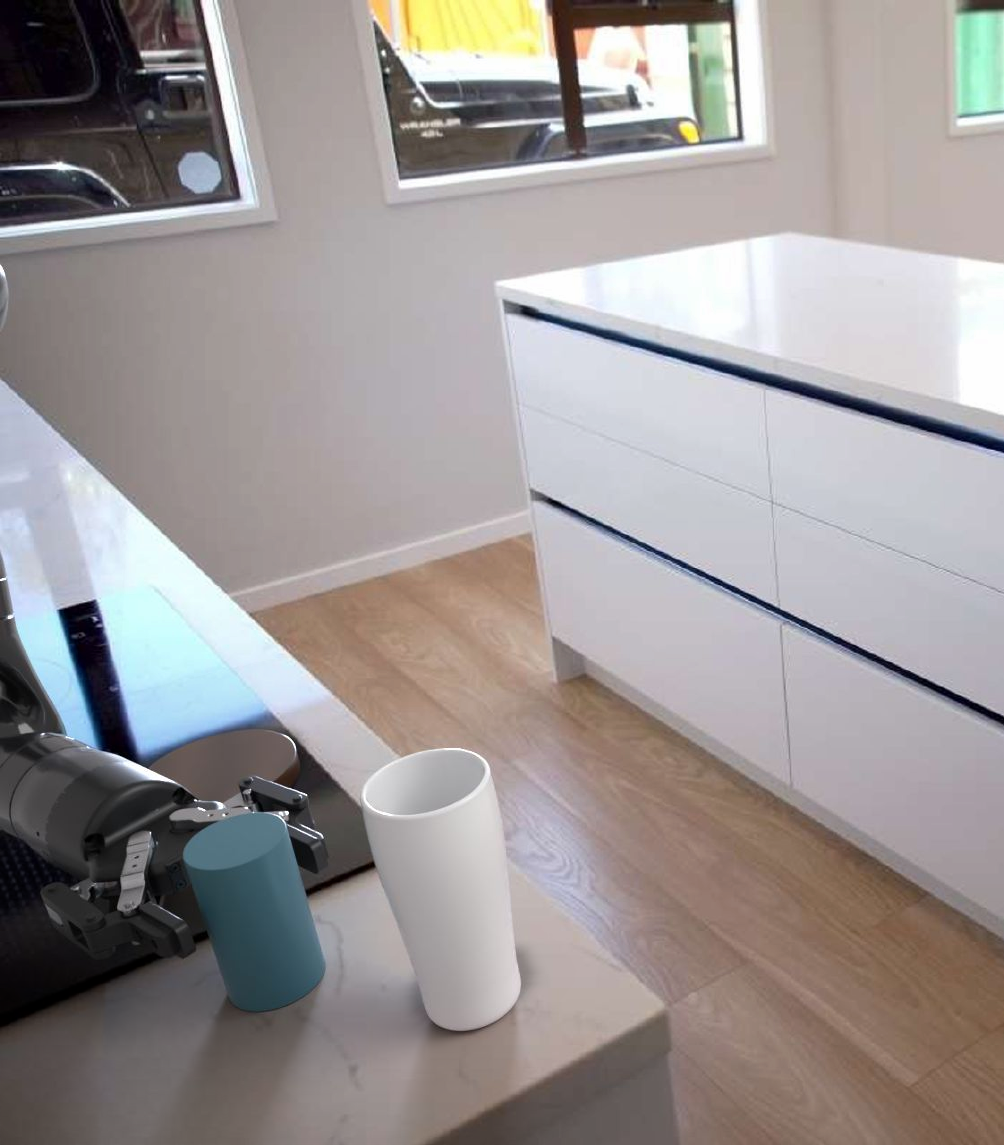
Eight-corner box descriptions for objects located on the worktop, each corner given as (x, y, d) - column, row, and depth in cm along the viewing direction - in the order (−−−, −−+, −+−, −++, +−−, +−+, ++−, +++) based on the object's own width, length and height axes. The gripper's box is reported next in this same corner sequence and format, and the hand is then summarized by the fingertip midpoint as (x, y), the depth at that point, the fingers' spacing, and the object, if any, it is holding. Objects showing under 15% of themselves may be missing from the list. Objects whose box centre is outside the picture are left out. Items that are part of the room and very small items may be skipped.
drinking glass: (388, 1032, 73) (329, 808, 66) (458, 952, 78) (410, 739, 72) (493, 1056, 70) (442, 827, 64) (557, 972, 76) (516, 754, 70)
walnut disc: (139, 847, 90) (133, 829, 90) (140, 771, 99) (135, 755, 99) (307, 799, 95) (302, 782, 94) (293, 731, 104) (289, 715, 103)
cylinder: (230, 1024, 74) (183, 881, 70) (226, 967, 78) (181, 830, 74) (330, 990, 76) (290, 850, 72) (320, 937, 80) (282, 801, 76)
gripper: (-34, 827, 76) (117, 917, 68) (193, 716, 87) (347, 781, 78) (8, 930, 79) (157, 1027, 71) (222, 810, 90) (373, 882, 81)
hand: (257, 898), depth 75 cm, fingers open, 8 cm apart
